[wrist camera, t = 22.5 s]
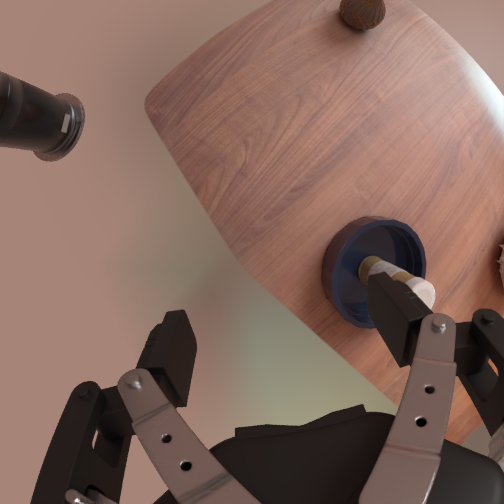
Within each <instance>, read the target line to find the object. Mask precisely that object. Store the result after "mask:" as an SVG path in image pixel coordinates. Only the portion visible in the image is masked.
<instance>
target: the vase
mask: <svg viewBox="0 0 504 504" xmlns="http://www.w3.org/2000/svg"><path fill="white" fill-rule="evenodd" d="M385 11H386V10H385V5H384V2H383V0H341V3H340V14H341V16H342V18H343V19H344V21H345V22H346V23H347V24H349V25H350V26H352V27H354V28H357V29H362V30H367V29H371V28H374V27H376V26H377V25H379V24H380V23H381V22H382V20H383V19H384V16H385Z"/></svg>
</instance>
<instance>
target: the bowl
mask: <svg viewBox="0 0 504 504" xmlns="http://www.w3.org/2000/svg"><path fill="white" fill-rule="evenodd" d="M499 246H500V247H502V248H503V250H502V255H501V257H500V260H496V261H497V262H498V263H500V269H499V271H500V274H501V278H502V283H503V287H504V244H503V245H499ZM503 294H504V293H503Z"/></svg>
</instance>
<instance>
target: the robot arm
mask: <svg viewBox="0 0 504 504" xmlns="http://www.w3.org/2000/svg"><path fill="white" fill-rule="evenodd" d="M75 121H76V114H75V110H74V107H73V106H72V104H71V103H70V102H68V101H66V100H64V99H60V98H58V97H56V96H54V95H52V94H50V93H48V92H46V91H44V90H42V89H40V88H38V87H35V86H33V85H31V84H29V83H26V82H24V81H22V80H20V79H17V78H15V77H13V76H10V75H8V74H6V73H3V72H1V71H0V147H8V148H16V149H24V150H31V151H37V152H42V153H47V154H50V153H54V152H57V151H58V150H60V149H61V148H62V147H63V146H64V145H65V144H66V143H67V142H68V140H69V139H70V137H71V135H72V133H73V130H74V127H75ZM367 308H368V313H369V316H370V319H371V320H372V322H373V324H374V325H375V327H376V328H377V330H378V332H379V333H380V335H381V337H382V338H383V340H384V342H385V343H386V345H387V347H388V348H389V350H390V352H391V353H392V355H393V357H394V358H395V360H396V362H397V364H398V365H399V367H400V368H401V367H404V366H407V365H410V367H411V369H410V373H409V377H408V380H407V383H406V387H405V390H404V393H403V396H402V399H401V402H400V405H399V408H398V411H397V414H396V416H394V415H391V414H387V413H382V412H366V411H365V408H364V405H363V404H361V405H358V406H354V407H350V408H347V409H343V410H339V411H335V412H332V413H329V414H327V415H325V416H323V417H321V418H319V419H316V420H314V421H312V422H309V423H307V424H304V425H301V426H288V425H270V424H265V425H257V426H248V427H238V428H235V437H232V438H229V439H227V440H224V441H222V442H220V443H219V444H217V445H215V446H214V447H212V448H211V449H209V450H208V449H207V448H206V447H205V446H204V444H203V443H202V442H201V441H200V440H199V438H198V437H197V436H196V435H195V433H194V432H193V431H192V430H191V429H190V427H189V426H188V425H187V424H186V422H185V421H184V420H183V418H182V417H181V416H180V414H179V413H178V412H177V410H176V408H177V407H186V406H187V400H188V395H189V389H190V384H191V378H192V373H193V368H194V362H195V357H196V352H197V343H196V338H195V335H194V332H193V330H192V327H191V325H190V322H189V319H188V317H187V314H186V312H185V310H176V311H168V312H166V315H165V317H164V320H163V322H162V324H157V325H156V326H155V328H154V329H153V330H152V331H151V332H150V334H149V337H148V339H147V341H146V344H145V348H144V349H143V351H142V353H141V356H140V358H139V361H138V363H137V366H136V368H135V369H133V370H130V371H128V372H126V373H125V374H124V375H123V376H122V377H121V378H120V379H119V381H118V385H117V386H113V387H109V388H106V389H102V390H101V388H100V387H99V386H98V384H97V383H96V382H93V381H87V382H83V383H81V384H79V385H78V386H77V387H75V389H74V390H73V391H72V393H71V395H70V398H69V400H68V402H67V404H66V406H65V409H64V411H63V413H62V415H61V418H60V420H59V423H58V425H57V427H56V430H55V433H54V435H53V437H52V440H51V443H50V445H49V448H48V451H47V453H46V456H45V459H44V461H43V464H42V467H41V470H40V473H39V476H38V479H37V482H36V486H35V489H34V492H33V496H32V500H31V503H30V504H119V501H120V495H121V489H122V483H123V478H124V472H125V467H126V462H127V457H128V452H129V447H130V442H131V438H132V435H137V437H138V439H139V440H140V442H141V444H142V446H143V448H144V449H145V451H146V453H147V455H148V456H149V458H150V460H151V462H152V463H153V465H154V466H155V468H156V470H157V471H158V473H159V475H160V476H161V478H162V479H163V481H164V482H165V484H166V485H167V487H168V488H169V489H168V490H167V491H166V492H165V493H164V494H163V495H162V496H161V497H160V498H159V499H157V501H155V502H154V503H153V504H504V319H503V318H502V317H501V316H500V315H499V314H498V313H497V312H496V311H494V310H491V309H479V310H477V311H476V312H475V313H474V314H473V317H472V321H471V322H462V323H455V321H454V320H453V319H452V318H451V317H449V316H448V315H445V314H441V313H433V312H432V311H431V310H430V308H429V307H428V306H427V305H426V304H425V303H424V302H423V301H422V300H421V299H420V298H419V297H418V295H417V294H416V293H415V292H413V290H412V289H411V288H410V287H409V286H408V285H407V284H405V283H403V282H401V281H399V280H395V281H394V280H393V279H392V278H391V277H390V276H389V275H388V274H387V273H386V272H380V273H376V274H372V275H369V276H368V297H367ZM489 358H490V359H491V361H492V362H493V363H494V365H495V366H496V368H497V370H498V376H497V375H496V373H495V372H494V370H493V369H492V367H491V366H490V365H489V363H488V360H489ZM455 376H458V377H459V379H460V381H461V382H462V384H463V386H464V387H465V389H466V391H467V393H468V394H469V396H470V398H471V400H472V401H473V403H474V405H475V407H476V409H477V411H478V412H479V414H480V416H481V418H482V420H483V422H484V424H485V426H486V427H487V430H488V432H489V434H490V436H491V439H490V442H489V454H488V457H487V456H484V455H482V454H479V453H477V452H474V451H472V450H469V449H467V448H464V447H462V446H460V445H457V444H455V443H453V442H450V441H448V440H446V439H444V437H445V433H446V428H447V424H448V419H449V414H450V409H451V403H452V397H453V391H454V384H455ZM96 430H97V431H98V435H97V439H96V442H95V446H94V449H93V447H92V441H93V438H94V435H95V432H96Z"/></svg>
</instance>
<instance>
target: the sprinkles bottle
mask: <svg viewBox="0 0 504 504" xmlns="http://www.w3.org/2000/svg"><path fill="white" fill-rule="evenodd" d="M380 272H386V273H387V274H388V275H389V276H390V277H391V278H392V279H393V280H394V281H395V280H399V281H401V282H403V283H405V284H407V285H408V286H409V287H410V288H411V289H412V290H413V292H415V293H416V294H417V295H418V297H419V298H420V299H421V300H422V301H423V302H424V303H425V304H426V305H427V306H428V307H429V308H430V310H431V308H432V306H433V304H434V301H435V290H434V287H433V285H432V284H431V283H429V282H428V281H426V280H424V279H422V278H420V277H415V276H413V275H411V274H409V273H408V272H407V271H405V270H403V269H401V268H399V267H397V266H395V265H393V264H391V263H389V262H386V261H384V260H382V259H380V258H379V257H377V256H369V257H366V258H365V259H363V261H362V262H361V264H360V265H359V269H358V275H359V279H360V280H361V282H363V283H364V284H366V285H368V276H369V275H372V274H376V273H380Z"/></svg>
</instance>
